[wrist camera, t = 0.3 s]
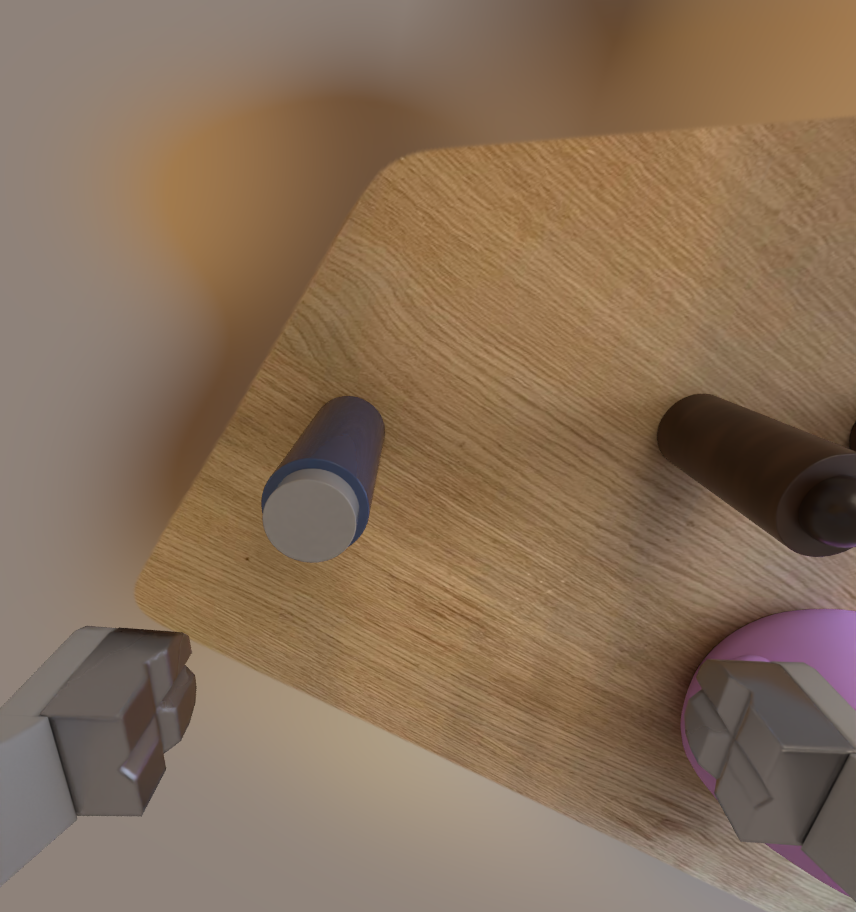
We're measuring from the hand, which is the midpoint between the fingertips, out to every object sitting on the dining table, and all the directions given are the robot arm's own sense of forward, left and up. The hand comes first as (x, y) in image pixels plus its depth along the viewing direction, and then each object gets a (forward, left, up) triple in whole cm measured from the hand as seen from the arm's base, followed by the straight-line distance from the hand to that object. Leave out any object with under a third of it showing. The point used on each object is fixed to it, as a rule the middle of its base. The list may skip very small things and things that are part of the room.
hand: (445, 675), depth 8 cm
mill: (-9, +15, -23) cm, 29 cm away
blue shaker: (+5, -2, -23) cm, 24 cm away
